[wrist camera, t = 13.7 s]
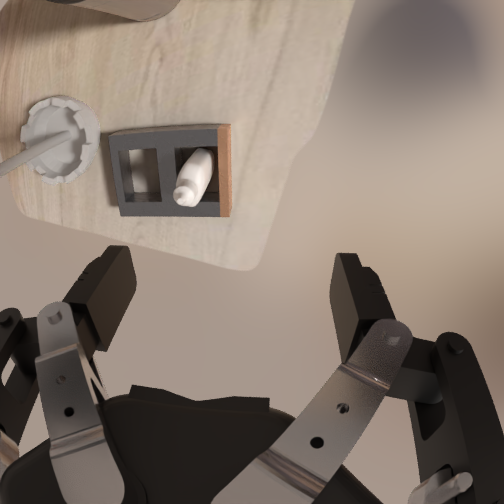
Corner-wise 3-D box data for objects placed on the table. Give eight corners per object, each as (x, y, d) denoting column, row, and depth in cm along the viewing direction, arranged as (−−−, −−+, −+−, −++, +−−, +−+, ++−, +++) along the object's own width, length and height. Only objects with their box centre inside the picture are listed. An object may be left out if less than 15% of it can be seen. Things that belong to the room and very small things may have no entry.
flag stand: (81, 188, 45) (-45, 313, 20) (30, 143, 40) (-109, 234, 15) (122, 124, 39) (-40, 225, 14) (64, 77, 35) (-109, 132, 10)
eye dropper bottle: (178, 171, 43) (150, 206, 33) (202, 142, 41) (179, 169, 31) (201, 190, 45) (181, 231, 34) (227, 162, 42) (213, 195, 32)
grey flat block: (119, 130, 40) (108, 136, 37) (230, 124, 39) (227, 128, 36) (129, 206, 46) (120, 216, 43) (232, 206, 46) (229, 217, 43)
